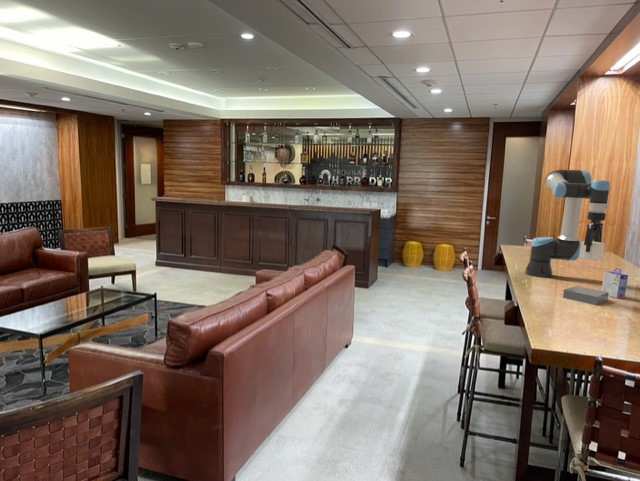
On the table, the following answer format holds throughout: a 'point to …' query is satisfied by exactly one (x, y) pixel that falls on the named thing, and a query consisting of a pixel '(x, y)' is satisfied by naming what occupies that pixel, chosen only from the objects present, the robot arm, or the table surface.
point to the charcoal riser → (585, 295)
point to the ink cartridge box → (615, 283)
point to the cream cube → (593, 250)
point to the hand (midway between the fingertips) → (590, 257)
